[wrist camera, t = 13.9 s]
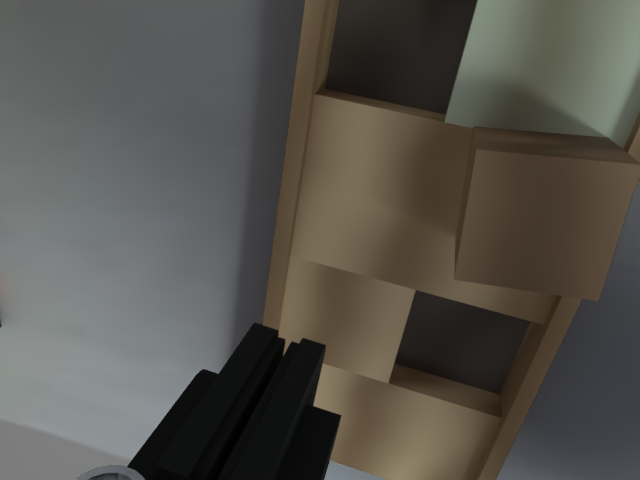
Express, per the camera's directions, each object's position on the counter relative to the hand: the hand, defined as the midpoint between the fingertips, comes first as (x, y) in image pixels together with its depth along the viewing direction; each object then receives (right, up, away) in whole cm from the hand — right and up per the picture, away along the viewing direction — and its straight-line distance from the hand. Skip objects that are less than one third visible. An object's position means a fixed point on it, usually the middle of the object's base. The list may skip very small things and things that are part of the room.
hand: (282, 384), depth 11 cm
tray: (+6, +3, +14) cm, 15 cm away
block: (+9, +5, +9) cm, 14 cm away
